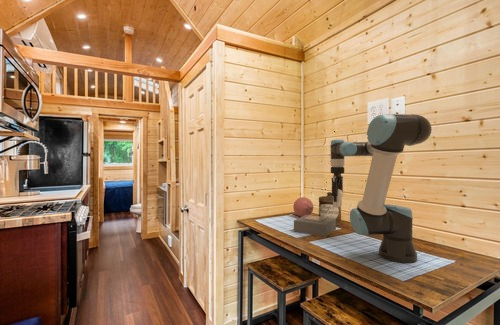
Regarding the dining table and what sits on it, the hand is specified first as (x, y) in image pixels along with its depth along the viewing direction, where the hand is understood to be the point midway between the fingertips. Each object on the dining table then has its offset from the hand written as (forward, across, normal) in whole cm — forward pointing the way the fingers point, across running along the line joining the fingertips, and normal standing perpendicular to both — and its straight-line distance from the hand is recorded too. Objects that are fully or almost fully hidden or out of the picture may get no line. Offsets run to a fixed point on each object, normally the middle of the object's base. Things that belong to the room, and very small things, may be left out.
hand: (337, 206), depth 148 cm
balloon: (+19, -36, -36) cm, 54 cm away
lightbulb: (+1, 0, 0) cm, 1 cm away
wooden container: (+18, -28, -14) cm, 36 cm away
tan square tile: (+13, -5, -15) cm, 21 cm away
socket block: (+18, -5, -15) cm, 24 cm away
